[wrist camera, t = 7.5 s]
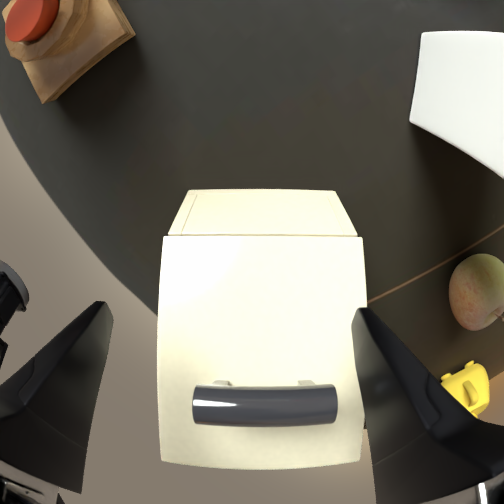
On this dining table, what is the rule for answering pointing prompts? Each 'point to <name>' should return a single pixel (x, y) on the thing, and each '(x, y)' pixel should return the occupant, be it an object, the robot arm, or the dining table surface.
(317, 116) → the dining table surface
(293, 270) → the lid
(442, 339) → the dining table surface
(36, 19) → the switch button
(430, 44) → the milk carton
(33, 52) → the switch base
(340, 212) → the box
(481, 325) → the fruit
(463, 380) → the teapot
